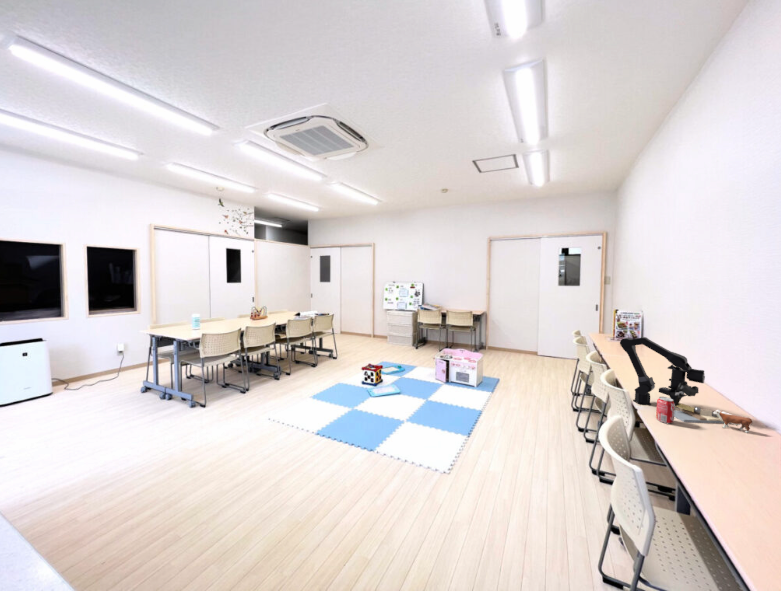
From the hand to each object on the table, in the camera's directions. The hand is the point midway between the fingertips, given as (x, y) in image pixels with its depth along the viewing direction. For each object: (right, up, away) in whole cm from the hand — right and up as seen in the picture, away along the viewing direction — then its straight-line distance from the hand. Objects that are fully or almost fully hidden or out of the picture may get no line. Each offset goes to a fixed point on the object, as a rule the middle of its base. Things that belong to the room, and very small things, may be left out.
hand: (675, 405), depth 180 cm
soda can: (-17, -4, -12) cm, 21 cm away
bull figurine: (+10, -5, -20) cm, 23 cm away
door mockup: (+5, -4, -8) cm, 10 cm away
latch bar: (+3, -1, -3) cm, 5 cm away
